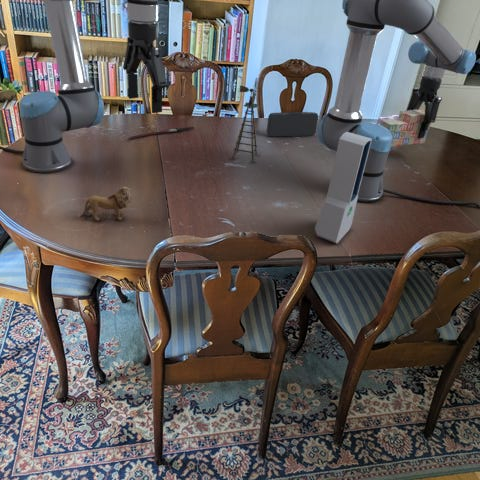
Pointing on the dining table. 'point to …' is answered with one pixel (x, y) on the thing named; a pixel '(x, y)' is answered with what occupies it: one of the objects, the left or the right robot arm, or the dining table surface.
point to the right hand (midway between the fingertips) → (414, 134)
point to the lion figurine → (109, 203)
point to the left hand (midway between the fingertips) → (144, 104)
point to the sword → (162, 132)
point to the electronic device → (343, 187)
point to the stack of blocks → (406, 127)
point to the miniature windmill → (250, 106)
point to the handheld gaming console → (292, 124)
